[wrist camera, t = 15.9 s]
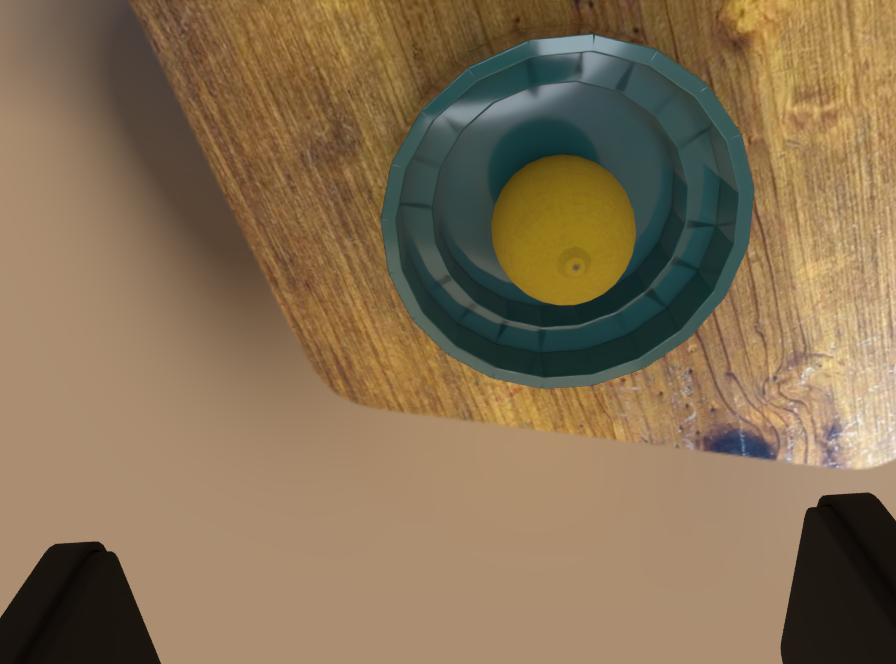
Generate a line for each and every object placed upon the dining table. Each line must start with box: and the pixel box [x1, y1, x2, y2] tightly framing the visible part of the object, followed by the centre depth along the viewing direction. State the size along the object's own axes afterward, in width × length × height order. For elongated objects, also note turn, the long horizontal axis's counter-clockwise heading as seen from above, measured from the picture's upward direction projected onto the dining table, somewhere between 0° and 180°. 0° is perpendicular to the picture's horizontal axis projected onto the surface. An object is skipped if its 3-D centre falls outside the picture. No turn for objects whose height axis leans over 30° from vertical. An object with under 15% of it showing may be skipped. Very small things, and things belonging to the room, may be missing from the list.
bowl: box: [381, 24, 754, 389], centre depth 30 cm, size 14×14×5 cm
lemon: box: [491, 154, 636, 305], centre depth 28 cm, size 6×6×8 cm
